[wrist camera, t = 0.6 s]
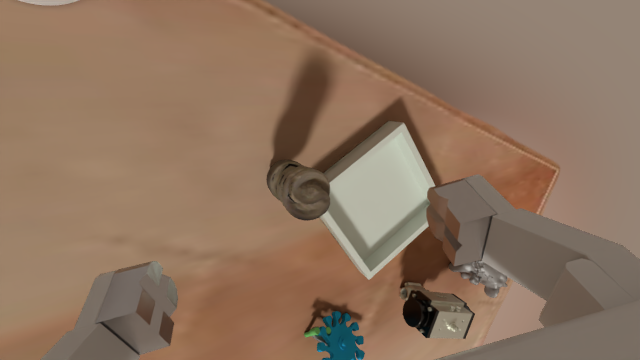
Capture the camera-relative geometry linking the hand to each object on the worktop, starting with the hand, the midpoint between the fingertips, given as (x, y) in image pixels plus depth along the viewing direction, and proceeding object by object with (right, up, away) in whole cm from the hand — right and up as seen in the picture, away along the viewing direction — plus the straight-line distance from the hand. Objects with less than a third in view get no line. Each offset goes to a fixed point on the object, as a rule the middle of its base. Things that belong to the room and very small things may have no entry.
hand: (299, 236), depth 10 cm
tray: (+9, -1, +44) cm, 45 cm away
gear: (+2, -24, +47) cm, 53 cm away
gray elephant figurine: (+32, -15, +57) cm, 67 cm away
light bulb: (-6, +3, +37) cm, 37 cm away
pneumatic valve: (+18, -19, +52) cm, 58 cm away
